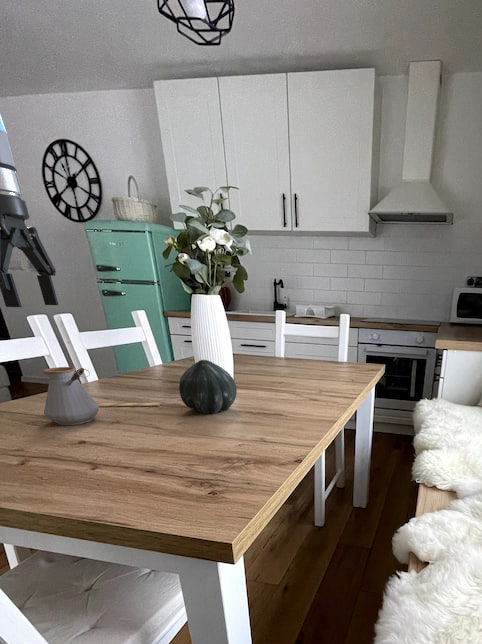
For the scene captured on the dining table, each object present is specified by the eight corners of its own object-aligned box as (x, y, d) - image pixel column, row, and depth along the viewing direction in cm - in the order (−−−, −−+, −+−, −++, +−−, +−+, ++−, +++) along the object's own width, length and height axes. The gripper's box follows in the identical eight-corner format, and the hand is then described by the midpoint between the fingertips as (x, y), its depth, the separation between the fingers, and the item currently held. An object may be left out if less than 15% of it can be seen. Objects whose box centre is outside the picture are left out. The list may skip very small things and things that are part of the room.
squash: (215, 381, 120) (183, 346, 107) (253, 389, 115) (225, 353, 101) (192, 420, 116) (155, 388, 103) (230, 430, 110) (197, 398, 97)
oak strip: (69, 407, 111) (68, 405, 111) (74, 404, 114) (74, 403, 114) (158, 406, 114) (157, 405, 114) (161, 403, 117) (161, 402, 116)
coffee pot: (40, 421, 99) (20, 359, 93) (91, 411, 107) (75, 354, 101) (73, 440, 87) (51, 371, 81) (127, 428, 96) (111, 365, 89)
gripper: (22, 205, 93) (49, 303, 102) (-72, 178, 71) (-26, 307, 80) (56, 207, 94) (80, 304, 103) (-26, 181, 71) (14, 308, 80)
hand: (34, 306), depth 91 cm, fingers open, 13 cm apart
